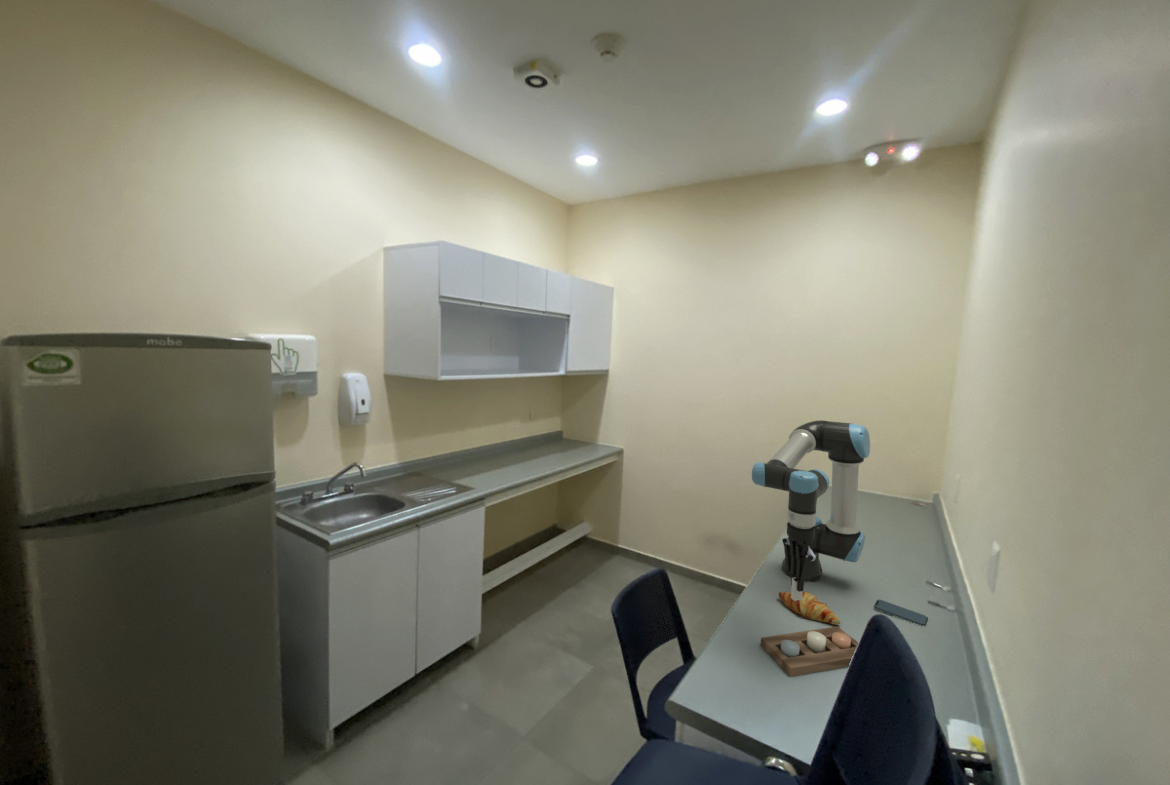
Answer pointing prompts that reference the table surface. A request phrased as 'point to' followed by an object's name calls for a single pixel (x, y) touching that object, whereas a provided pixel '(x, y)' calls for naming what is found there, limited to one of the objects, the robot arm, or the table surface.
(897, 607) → the smartphone
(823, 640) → the cream button
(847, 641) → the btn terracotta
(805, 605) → the croissant
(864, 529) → the table surface
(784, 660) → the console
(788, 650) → the slate button
